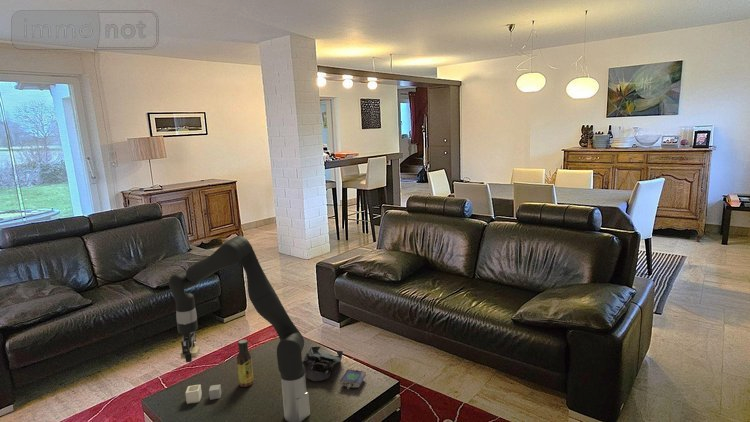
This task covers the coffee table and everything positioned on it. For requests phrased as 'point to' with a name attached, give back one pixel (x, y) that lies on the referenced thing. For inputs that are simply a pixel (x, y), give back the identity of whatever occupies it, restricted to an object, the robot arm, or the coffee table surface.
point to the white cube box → (193, 394)
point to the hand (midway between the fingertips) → (190, 357)
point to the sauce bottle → (244, 365)
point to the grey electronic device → (352, 378)
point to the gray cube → (215, 391)
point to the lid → (192, 352)
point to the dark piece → (320, 364)
